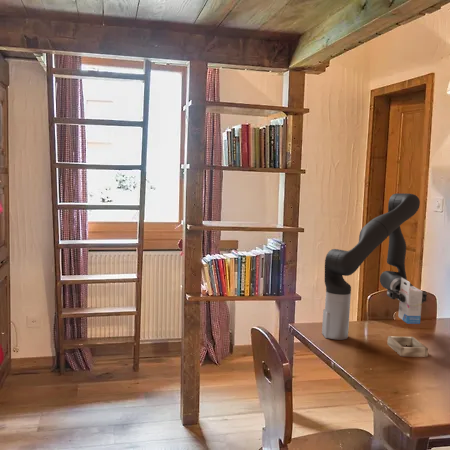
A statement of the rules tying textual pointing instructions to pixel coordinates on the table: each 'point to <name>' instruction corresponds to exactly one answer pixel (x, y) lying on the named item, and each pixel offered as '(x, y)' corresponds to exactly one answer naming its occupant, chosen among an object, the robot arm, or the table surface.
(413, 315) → the ink box
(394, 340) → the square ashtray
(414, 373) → the table surface
